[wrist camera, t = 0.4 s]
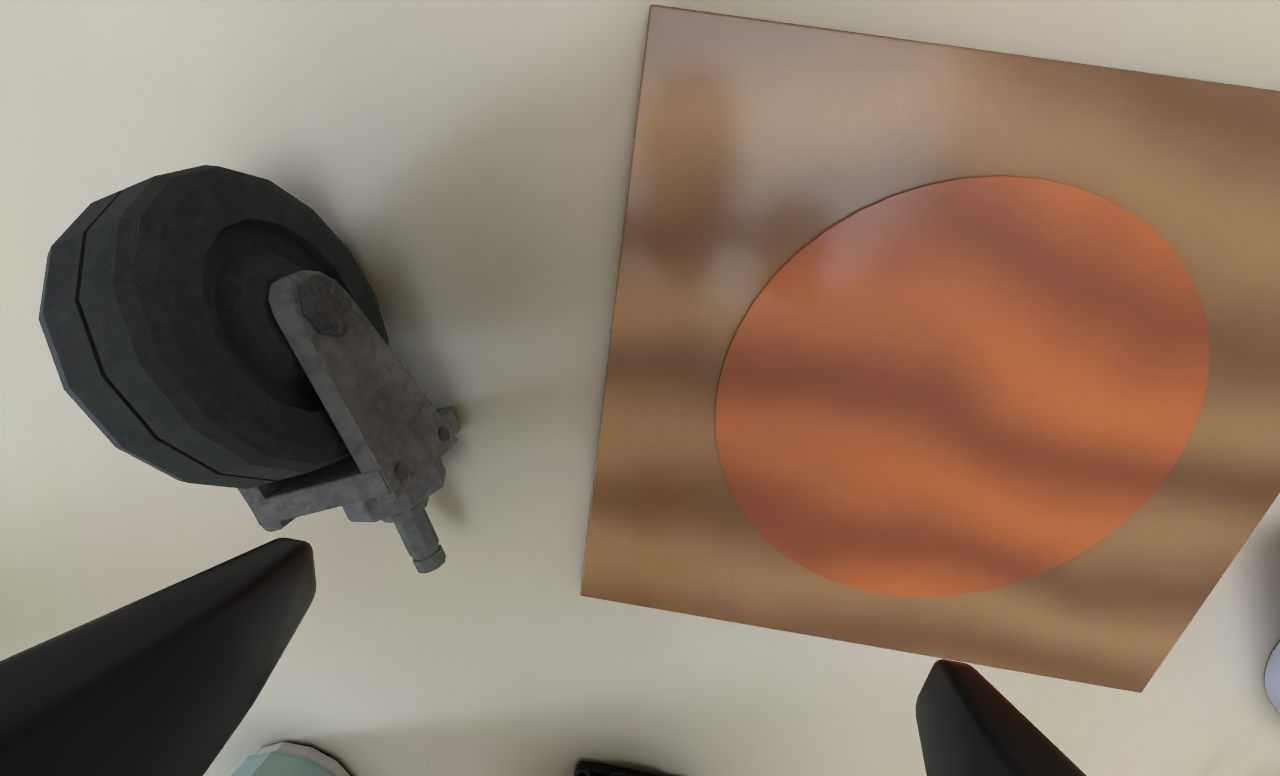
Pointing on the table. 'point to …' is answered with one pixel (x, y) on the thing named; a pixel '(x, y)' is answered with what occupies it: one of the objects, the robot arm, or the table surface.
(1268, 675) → the wedge on round base
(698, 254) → the wooden board
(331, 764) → the disposable coffee cup
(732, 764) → the table surface
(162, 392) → the caster wheel
